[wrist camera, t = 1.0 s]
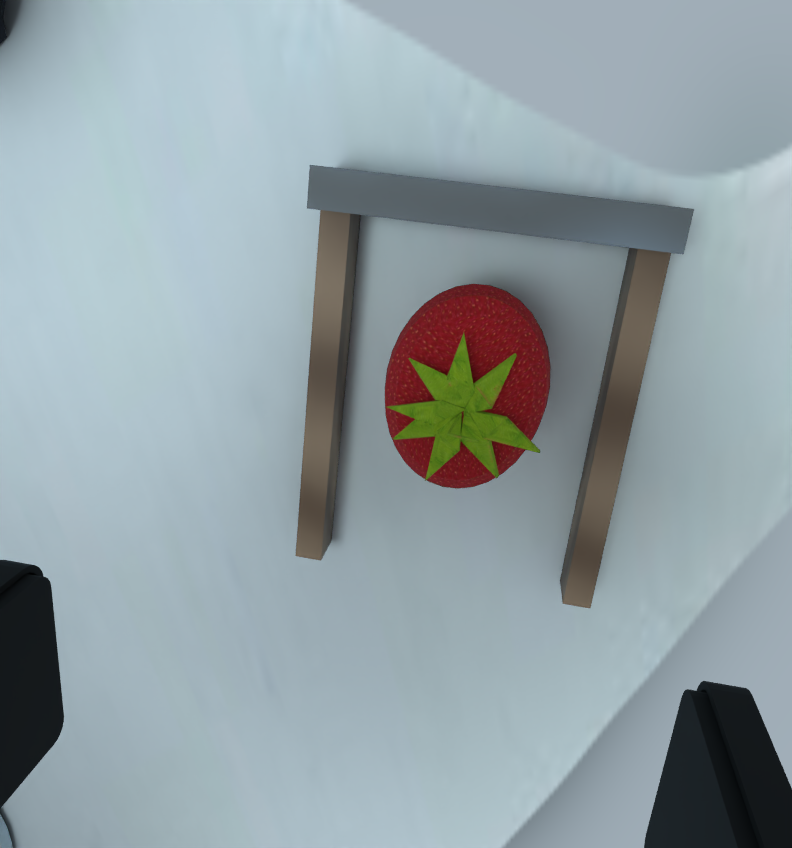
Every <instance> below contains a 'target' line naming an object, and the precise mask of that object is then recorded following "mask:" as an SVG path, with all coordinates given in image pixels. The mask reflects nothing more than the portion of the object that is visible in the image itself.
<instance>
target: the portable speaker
mask: <svg viewBox="0 0 792 848" xmlns="http://www.w3.org/2000/svg"><path fill="white" fill-rule="evenodd" d="M4 6H5V0H0V43H1V42H2V41H3V40H4V39H5V38H6V37H7V36H6V31H5V27H4V22H3V13H4Z"/></svg>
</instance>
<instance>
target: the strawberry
mask: <svg viewBox="0 0 792 848" xmlns="http://www.w3.org/2000/svg"><path fill="white" fill-rule="evenodd" d="M549 389H550V360H549V354H548V347H547V344H546V341H545V338H544V335H543V332H542V330H541V328H540V326H539V324H538V323H537V321H536V319H535V318H534V316H533V314H532V313H531V312H530V311H529V310H528V309H527V307H526V306H525V305H524V304H523V303H522V302H521V301H520V300H519V299H517V298H516V297H514V296H513V295H511V294H510V293H508V292H507V291H504V290H502V289H499V288H496V287H493V286H490V285H480V284H469V285H463V286H457V287H454V288H451V289H449V290H447V291H444V292H442V293H439V294H438V295H437V296H435V297H434V298H432V299H431V300H429V301H428V302H426V303H425V304H424V305H423V306H422V307H421V308H420V309H419V310H418V311H417V312H416V313H415V314H414V315H413V316H412V317H411V318H410V320H409V321H408V323H407V324H406V326H405V327H404V329H403V330H402V332H401V333H400V335H399V337H398V340H397V342H396V344H395V346H394V348H393V350H392V354H391V357H390V361H389V364H388V368H387V375H386V383H385V409H386V418H387V423H388V428H389V432H390V435H391V437H392V440H393V442H394V445H395V447H396V449H397V450H398V452H399V454H400V455H401V457H402V458H403V460H404V461H405V463H406V464H407V465H408V466H409V467H410V468H411V469H412V470H413V471H414V472H415V473H417V474H418V475H420V476H421V477H423V478H424V479H425V481H426V480H427V481H429V482H432V483H434V484H437V485H440V486H442V487H450V488H467V487H474V486H477V485H480V484H483V483H486V482H489V481H490V480H492V479H494V478H498V476H499V475H501V474H502V473H504V472H505V471H506V470H507V469H508V468H509V467H511V466H512V465H513V464H514V463H515V462H516V461H517V460H518V459H519V457H520V456H521V455H522V454H523V452H524V451H525V450H530V451H534V452H538V453H540V450H539V449H538V448H537V447H536V446H535V445H534V444H533V443H532V442H531V440H532V438H533V437H534V435H535V433H536V431H537V429H538V427H539V424H540V422H541V419H542V416H543V414H544V411H545V408H546V404H547V399H548V394H549Z"/></svg>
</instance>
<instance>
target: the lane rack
mask: <svg viewBox="0 0 792 848" xmlns="http://www.w3.org/2000/svg"><path fill="white" fill-rule="evenodd" d="M307 208H309V209H317V210H321V211H320V225H319V239H318V253H317V267H316V281H315V295H314V308H313V322H312V336H311V350H310V364H309V378H308V392H307V406H306V420H305V433H304V447H303V461H302V475H301V489H300V503H299V517H298V531H297V545H296V556H299V557H304V558H310V559H315V560H321V559H322V558H323V556H324V554H325V552H326V550H327V548H328V546H329V544H330V542H331V539H332V528H333V517H334V506H335V494H336V483H337V472H338V461H339V450H340V438H341V427H342V416H343V405H344V394H345V382H346V371H347V360H348V349H349V338H350V327H351V315H352V304H353V293H354V282H355V271H356V259H357V248H358V237H359V226H360V215H366V216H374V217H383V218H391V219H399V220H407V221H415V222H424V223H432V224H440V225H448V226H456V227H464V228H473V229H481V230H489V231H497V232H505V233H514V234H522V235H530V236H538V237H546V238H555V239H563V240H571V241H579V242H587V243H595V244H604V245H612V246H620V247H628V248H629V252H628V257H627V262H626V267H625V272H624V276H623V281H622V286H621V291H620V296H619V300H618V305H617V310H616V315H615V320H614V324H613V329H612V334H611V339H610V344H609V348H608V353H607V358H606V363H605V368H604V372H603V377H602V382H601V387H600V392H599V396H598V401H597V406H596V411H595V416H594V420H593V425H592V430H591V435H590V439H589V444H588V449H587V454H586V459H585V463H584V468H583V473H582V478H581V483H580V487H579V492H578V497H577V502H576V507H575V511H574V516H573V521H572V526H571V531H570V535H569V540H568V545H567V550H566V555H565V559H564V564H563V569H562V574H561V579H560V584H561V593H562V602H563V604H568V605H574V606H579V607H585V608H590V607H591V603H592V598H593V594H594V590H595V585H596V581H597V576H598V572H599V568H600V563H601V559H602V554H603V550H604V546H605V541H606V537H607V532H608V528H609V524H610V519H611V515H612V510H613V506H614V502H615V497H616V493H617V488H618V484H619V480H620V475H621V471H622V466H623V462H624V458H625V453H626V449H627V444H628V440H629V436H630V431H631V427H632V422H633V418H634V414H635V409H636V405H637V400H638V396H639V392H640V387H641V383H642V378H643V374H644V369H645V365H646V361H647V356H648V352H649V347H650V343H651V339H652V334H653V330H654V325H655V321H656V317H657V312H658V308H659V303H660V299H661V295H662V290H663V286H664V281H665V277H666V273H667V268H668V264H669V259H670V255H671V253H677V254H684V250H685V246H686V241H687V237H688V233H689V228H690V224H691V220H692V215H693V211H694V209H688V208H680V207H671V206H663V205H654V204H645V203H636V202H628V201H619V200H610V199H602V198H593V197H584V196H576V195H567V194H558V193H550V192H541V191H532V190H524V189H515V188H506V187H498V186H489V185H480V184H472V183H463V182H454V181H445V180H437V179H428V178H419V177H411V176H402V175H393V174H385V173H376V172H367V171H359V170H350V169H341V168H333V167H324V166H315V165H310V171H309V186H308V201H307Z"/></svg>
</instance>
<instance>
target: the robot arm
mask: <svg viewBox="0 0 792 848" xmlns="http://www.w3.org/2000/svg"><path fill="white" fill-rule="evenodd" d="M63 722H64V713H63V703H62V693H61V683H60V672H59V662H58V652H57V642H56V631H55V621H54V611H53V601H52V590H51V584H50V581H49V580H48V578H46V577H43V573H42V571H41V569H40V568H39V567H37V566H35V565H30V564H24V563H19V562H13V561H7V560H0V808H1V807H2V806H3V805H4V803H5V802H6V801H7V800H8V799H9V797H10V796H11V795H12V794H13V793H14V791H15V790H16V789H17V788H18V787H19V785H20V784H21V783H22V782H23V781H24V780H25V778H26V777H27V776H28V775H29V774H30V772H31V771H32V770H33V769H34V768H35V766H36V765H37V764H38V763H39V762H40V760H41V759H42V758H43V757H44V756H45V754H46V753H47V752H48V751H49V750H50V748H51V747H52V746H53V745H54V743H55V742H56V741H57V739H58V737H59V735H60V733H61V730H62V727H63ZM0 848H12V842H11V838H10V835H9V832H8V828H7V826H6V824H5V822H4V820H3V818H2V816H1V814H0ZM644 848H792V788H791V786H790V784H789V782H788V779H787V777H786V774H785V772H784V769H783V767H782V765H781V762H780V760H779V758H778V755H777V753H776V751H775V748H774V746H773V743H772V741H771V739H770V736H769V734H768V732H767V729H766V727H765V724H764V722H763V720H762V717H761V715H760V713H759V710H758V708H757V706H756V703H755V701H754V698H753V696H752V694H751V693H750V691H749V690H748V689H746V688H741V687H736V686H729V685H724V684H718V683H713V682H706V681H703V682H701V683H700V685H699V686H698V689H697V691H694V690H685V691H684V693H683V695H682V698H681V702H680V706H679V710H678V714H677V718H676V721H675V725H674V729H673V733H672V737H671V741H670V744H669V748H668V752H667V756H666V760H665V764H664V767H663V772H662V775H661V779H660V783H659V787H658V791H657V795H656V798H655V802H654V806H653V810H652V814H651V818H650V821H649V826H648V829H647V833H646V838H645V845H644Z"/></svg>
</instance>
